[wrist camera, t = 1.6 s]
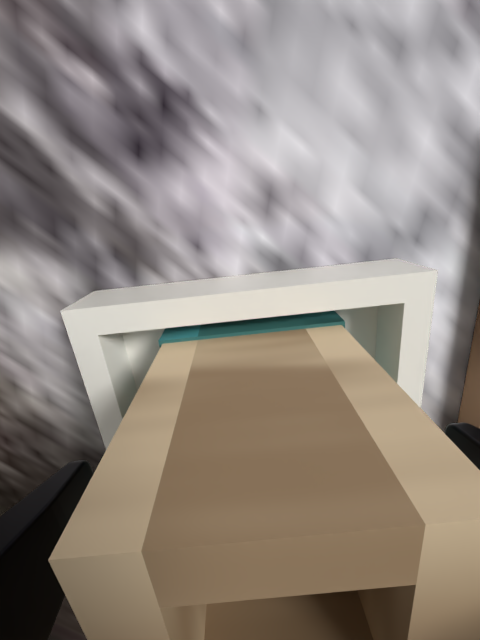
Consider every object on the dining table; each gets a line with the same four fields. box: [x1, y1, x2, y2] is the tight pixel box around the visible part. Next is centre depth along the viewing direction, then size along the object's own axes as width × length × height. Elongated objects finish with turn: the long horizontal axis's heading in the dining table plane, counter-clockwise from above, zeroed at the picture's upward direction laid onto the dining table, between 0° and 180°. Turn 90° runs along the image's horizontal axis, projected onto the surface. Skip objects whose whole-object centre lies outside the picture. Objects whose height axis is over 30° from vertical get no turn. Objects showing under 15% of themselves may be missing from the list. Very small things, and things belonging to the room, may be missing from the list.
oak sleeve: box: [48, 310, 480, 640], centre depth 7 cm, size 5×5×7 cm
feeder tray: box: [60, 258, 438, 450], centre depth 12 cm, size 17×10×2 cm, turn 6°
